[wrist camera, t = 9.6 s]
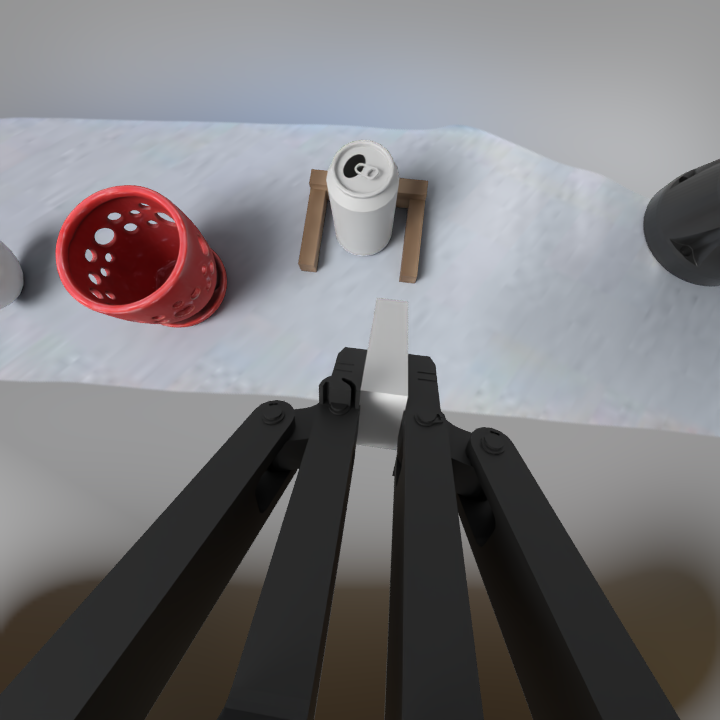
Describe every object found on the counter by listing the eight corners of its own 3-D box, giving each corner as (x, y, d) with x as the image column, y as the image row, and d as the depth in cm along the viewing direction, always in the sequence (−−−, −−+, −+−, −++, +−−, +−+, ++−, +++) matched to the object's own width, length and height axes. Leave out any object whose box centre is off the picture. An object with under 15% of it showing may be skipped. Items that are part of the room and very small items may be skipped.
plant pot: (121, 283, 42) (25, 234, 30) (202, 226, 43) (140, 157, 31) (173, 359, 41) (94, 339, 29) (257, 298, 41) (213, 255, 30)
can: (356, 197, 43) (353, 118, 31) (402, 226, 43) (416, 156, 31) (325, 240, 42) (308, 175, 31) (370, 269, 42) (372, 215, 30)
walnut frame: (423, 196, 43) (428, 180, 40) (414, 283, 41) (418, 273, 38) (315, 185, 44) (311, 169, 41) (301, 270, 42) (296, 260, 39)
